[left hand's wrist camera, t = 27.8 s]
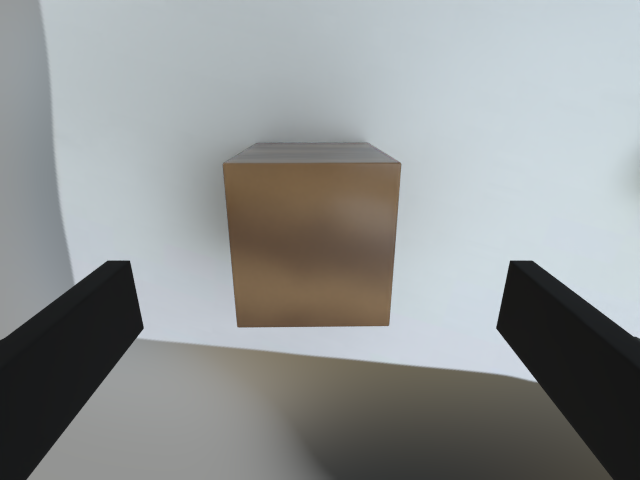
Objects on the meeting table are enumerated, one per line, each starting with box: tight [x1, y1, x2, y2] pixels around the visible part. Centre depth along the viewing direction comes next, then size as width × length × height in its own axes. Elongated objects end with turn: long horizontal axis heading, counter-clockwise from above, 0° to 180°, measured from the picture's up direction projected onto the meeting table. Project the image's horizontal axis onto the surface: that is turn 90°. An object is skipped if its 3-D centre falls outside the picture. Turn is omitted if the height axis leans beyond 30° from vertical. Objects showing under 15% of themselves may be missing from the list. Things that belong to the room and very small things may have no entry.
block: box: [223, 143, 401, 327], centre depth 23 cm, size 9×8×10 cm
